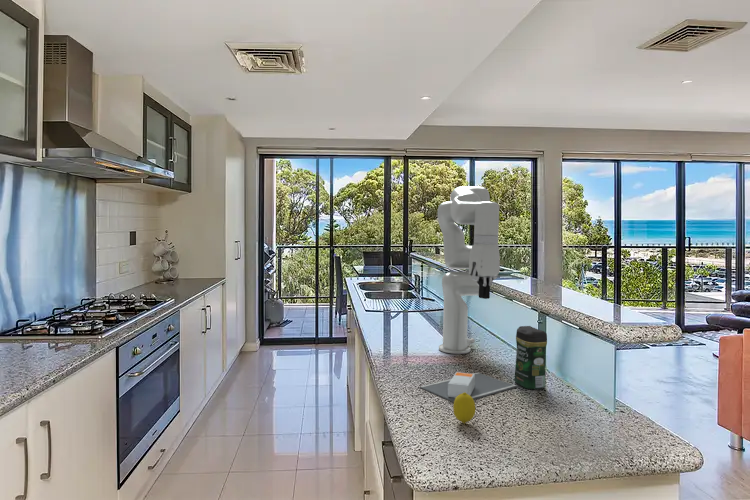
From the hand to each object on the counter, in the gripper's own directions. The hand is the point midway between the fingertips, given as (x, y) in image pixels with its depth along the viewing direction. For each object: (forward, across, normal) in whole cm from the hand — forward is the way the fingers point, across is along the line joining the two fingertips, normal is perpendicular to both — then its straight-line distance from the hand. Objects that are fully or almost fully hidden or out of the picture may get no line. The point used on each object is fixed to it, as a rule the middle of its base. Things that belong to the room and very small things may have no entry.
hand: (484, 298), depth 154 cm
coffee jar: (+27, -10, +11) cm, 31 cm away
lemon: (+27, +29, +20) cm, 45 cm away
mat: (+27, +8, +2) cm, 28 cm away
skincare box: (+24, +8, +1) cm, 26 cm away
